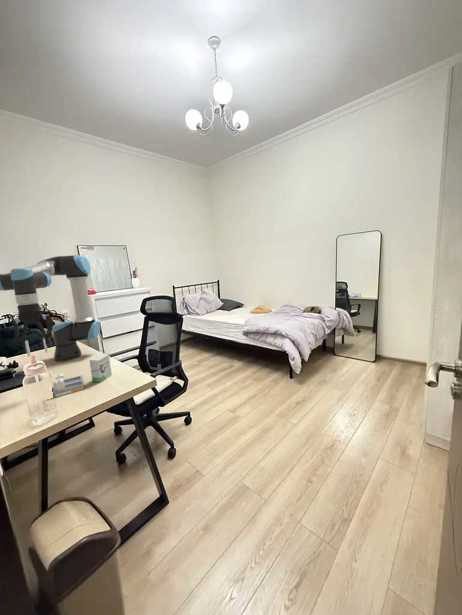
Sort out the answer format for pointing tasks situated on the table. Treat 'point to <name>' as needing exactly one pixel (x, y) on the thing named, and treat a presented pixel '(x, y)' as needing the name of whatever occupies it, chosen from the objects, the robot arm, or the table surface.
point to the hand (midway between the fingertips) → (37, 353)
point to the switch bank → (70, 386)
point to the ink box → (100, 368)
